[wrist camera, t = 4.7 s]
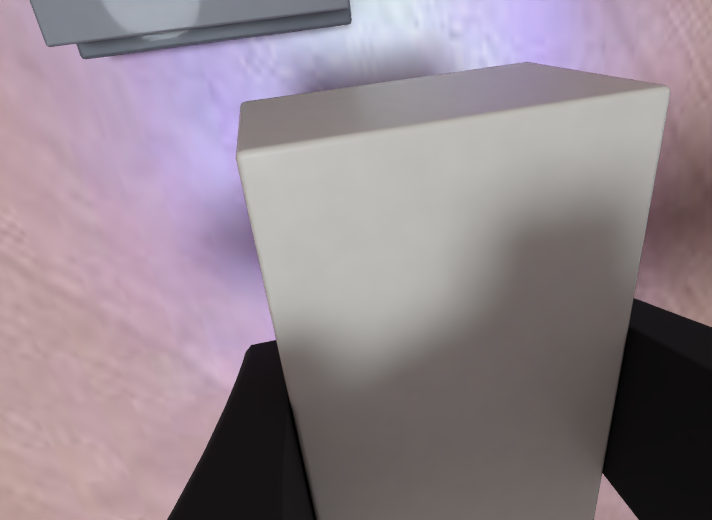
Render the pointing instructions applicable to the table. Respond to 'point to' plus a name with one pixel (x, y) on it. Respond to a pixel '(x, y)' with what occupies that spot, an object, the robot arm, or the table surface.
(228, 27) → the grey stack
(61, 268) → the table surface
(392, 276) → the cream rectangular block
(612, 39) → the table surface
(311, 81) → the table surface
